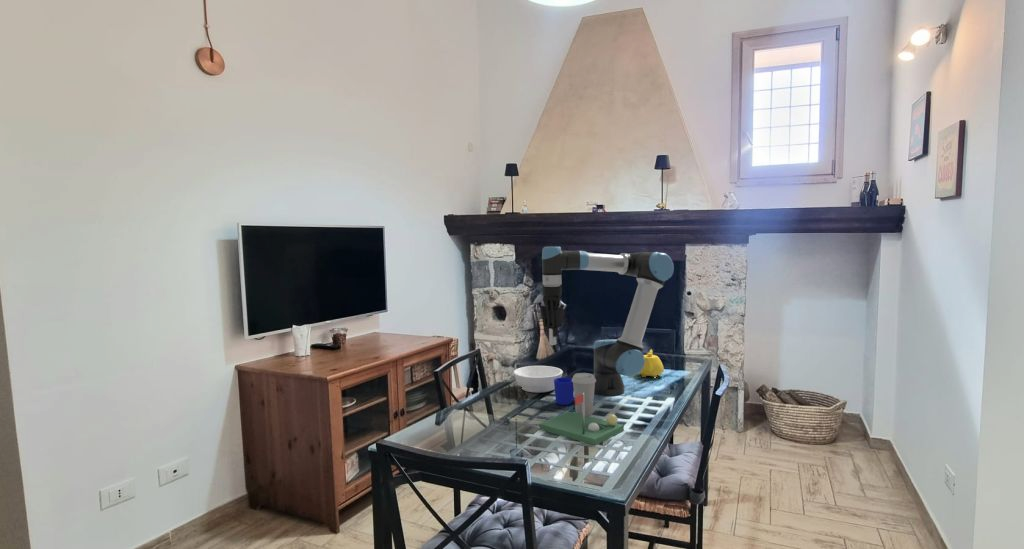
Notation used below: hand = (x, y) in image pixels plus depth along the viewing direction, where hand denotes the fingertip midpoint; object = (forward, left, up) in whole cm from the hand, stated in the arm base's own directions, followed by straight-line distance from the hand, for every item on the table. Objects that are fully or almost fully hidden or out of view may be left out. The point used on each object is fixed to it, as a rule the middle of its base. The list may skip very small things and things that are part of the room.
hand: (552, 344), depth 217 cm
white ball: (+13, +28, -24) cm, 39 cm away
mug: (-10, 0, -27) cm, 28 cm away
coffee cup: (-4, +12, -27) cm, 29 cm away
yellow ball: (+6, +31, -22) cm, 39 cm away
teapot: (-71, +3, -27) cm, 76 cm away
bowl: (-19, -24, -27) cm, 41 cm away
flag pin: (+21, +28, -24) cm, 43 cm away
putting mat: (+12, +22, -26) cm, 36 cm away
